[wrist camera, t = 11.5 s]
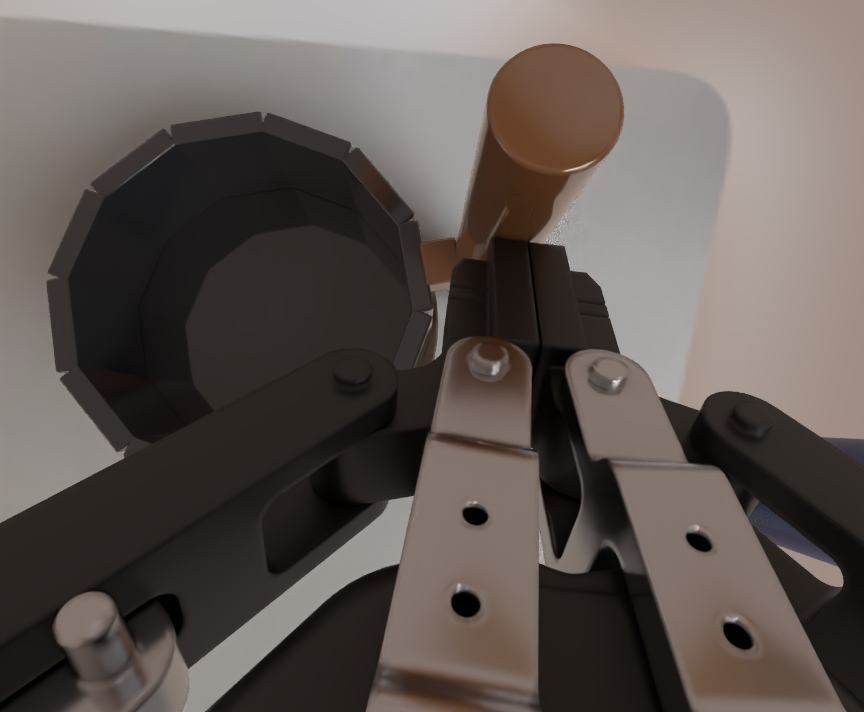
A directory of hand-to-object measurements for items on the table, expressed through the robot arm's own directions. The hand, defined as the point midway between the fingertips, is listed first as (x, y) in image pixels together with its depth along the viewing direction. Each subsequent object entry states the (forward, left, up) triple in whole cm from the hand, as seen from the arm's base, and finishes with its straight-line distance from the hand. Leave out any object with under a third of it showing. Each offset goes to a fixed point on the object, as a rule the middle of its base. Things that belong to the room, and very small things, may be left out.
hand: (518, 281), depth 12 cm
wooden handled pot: (+5, 0, -8) cm, 10 cm away
